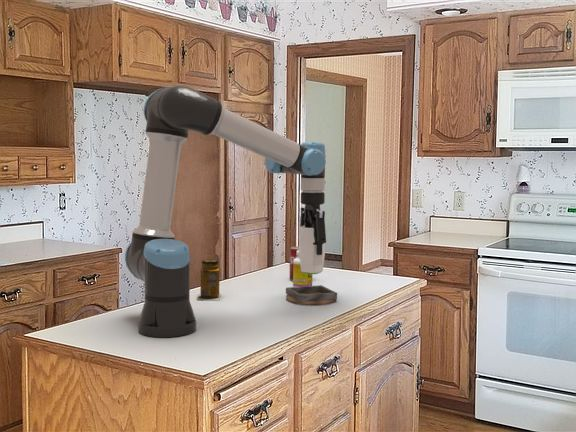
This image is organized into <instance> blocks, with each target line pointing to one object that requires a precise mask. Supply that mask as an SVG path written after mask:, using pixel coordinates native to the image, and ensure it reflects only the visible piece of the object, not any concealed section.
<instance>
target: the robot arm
mask: <svg viewBox="0 0 576 432" xmlns="http://www.w3.org/2000/svg"><path fill="white" fill-rule="evenodd" d="M143 116H144V118H145V121H146V126H145V135H146V136H147V138H148V139H149V147H148V152H147V153H148V154H147V163H146V171H145V178H144V185H143V186H144V187H143V192H142V193H143V194H142V202H141V208H140V216H139V224H138V226H137V227H136V228H135V229H133V231H132V234H131V235H132V236H131V242H130V243H129V244H128V245H127V247H126V250H125V253H124V263H125V267H126V268H127V269H128V271H129V272H130V273H131V275H133V276H134V278H136V279H137V280H141V281H142V282H143V283H144V304H143V306H142V309H141V313H140V316H139V319H138V321H137V322H138V323H137V327H138V328H137V330H138V333H139V334H141V335H143V336H147V337H153V338H173V337H174V338H175V337H181V336H186V335H189V334H192V333H194V332H196V330H197V319H196V315H195V313H194V309H193V307H192V304H191V300H190V299H191V298H190V297H191V296H190V290H191V289H190V286H191V285H190V283H191V282H190V279H191V278H190V273H191V271H190V267H191V266H190V265H191V263H190V262H191V256H190V249H189V248H190V247H189V246H188V244H187V243H185V242H184V241H181V240H180V239H179V240H178V239H176V240H175V235H174V233H173V232H172V230H171V226H172V225H171V223H172V218H173V212H174V211H173V210H174V202H175V195H176V194H175V193H176V189H177V188H176V186H177V179H178V171H179V164H180V158H181V157H180V156H181V149H182V148H181V147H182V145H183V143H185V142H186V141H188V139H189V138H188V137H189V131H192V132H197V133H200V134H202V135H203V136H210V135H214V136H216V137H218V138H221V139H222V140H225V141H227V142H229V143H232V144H234V145H237V146H238V147H241V148H243V149H245V150H248V151H250V152H251V153H254V154H257V155H258V156H261V157H264V162H265V163H264V164H265V168H266V169H267V172H269V173H270V174H277V175H278V174H290V175H291V174H293V175H300V190H301V193H300V203H301V204H302V205H305V206H303V207H300V221H299V222H300V223H299V227H301V226H305V228H314V240H315V242H314V243H313V245H314V257H313V265H322V253H323V244H324V243H327V231H326V232H325V227H326V223H325V221H326V220H325V217H326V216H325V215H326V212H325V210H321V205H324V204H325V203H326V202H325V200H326V198H325V195H326V193H325V192H324V191H325V185H326V183H327V182H326V180H325V178H326V177H325V176H326V175H325V174H326V170H325V169H326V163H327V162H326V158H327V157H326V146H325V143H323V142H322V141H321V142H320V141H318V142H317V141H316V142H311V141H310V142H309V141H307V142H306V141H303V142H301V144H299V143H297V142H296V141H293V140H291V139H289V138H287V137H285V136H283V135H281V134H279V133H277V132H275V131H272V130H270V129H269V128H266V127H264V126H262V125H260V124H258V123H257V122H254V121H251V120H249V119H247V118H246V117H243V116H241V115H239V114H237V113H235V112H233V111H231V110H228V109H227V108H225V107H224V105H223V103H222V102H221V101H218V100H217V99H215V98H213V97H211V96H209V95H207V94H205V93H203V92H201V91H199V90H197V89H195V88H192V87H190V86H188V85H174V86H169V87H162V88H158V89H157V90H155V91H154V92H152V93H151V94H149V96H148V97H147V98H146V100H145V102H144V104H143Z"/></svg>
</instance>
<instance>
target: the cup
mask: <svg viewBox="0 0 576 432" xmlns="http://www.w3.org/2000/svg"><path fill="white" fill-rule="evenodd" d="M325 232H326V233H327V227H326V226H325ZM314 242H315V240H314V228H305V226H301V227H300V226H299V227H298V246H299V256H300V266H301V272H303V273H306V274H312V275H318V274H321V273H322V272H323V270H324V264H325V256H326V243H327V242H326V243H324V244H323V253H322V265H313V257H314V245H313V243H314Z"/></svg>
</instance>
